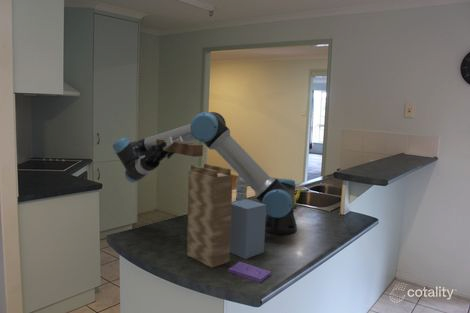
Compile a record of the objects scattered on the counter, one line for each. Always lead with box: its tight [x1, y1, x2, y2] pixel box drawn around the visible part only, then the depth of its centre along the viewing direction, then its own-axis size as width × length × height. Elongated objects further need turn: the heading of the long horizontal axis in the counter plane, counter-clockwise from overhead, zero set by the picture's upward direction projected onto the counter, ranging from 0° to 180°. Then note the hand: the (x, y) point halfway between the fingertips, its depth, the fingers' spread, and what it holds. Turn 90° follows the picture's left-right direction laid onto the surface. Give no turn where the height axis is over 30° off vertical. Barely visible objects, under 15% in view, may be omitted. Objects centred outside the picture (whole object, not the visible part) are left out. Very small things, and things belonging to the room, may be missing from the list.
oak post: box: [186, 163, 234, 269], centre depth 134 cm, size 14×8×33 cm, turn 44°
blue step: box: [230, 198, 267, 260], centre depth 143 cm, size 10×10×18 cm
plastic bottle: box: [234, 173, 249, 202], centre depth 202 cm, size 6×7×20 cm
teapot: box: [294, 186, 304, 206], centre depth 209 cm, size 14×14×12 cm
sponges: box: [228, 261, 272, 283], centre depth 126 cm, size 7×13×2 cm, turn 56°
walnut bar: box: [156, 139, 204, 158], centre depth 145 cm, size 24×4×4 cm, turn 44°
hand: (176, 139), depth 146 cm, fingers closed on walnut bar, 4 cm apart
